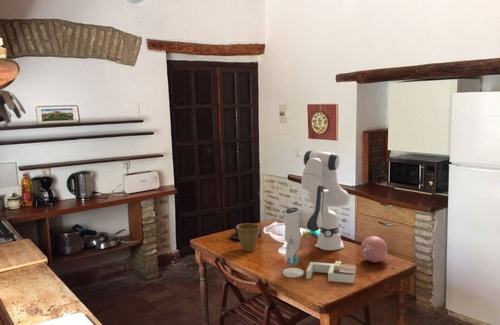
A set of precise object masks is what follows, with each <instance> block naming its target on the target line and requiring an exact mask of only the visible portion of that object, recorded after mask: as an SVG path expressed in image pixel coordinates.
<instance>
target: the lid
mask: <svg viewBox="0 0 500 325" xmlns="http://www.w3.org/2000/svg"><path fill="white" fill-rule="evenodd" d="M333 264H334V271H333V273H341V274H353V275H354V274H355V275H356V273H355V269H356V270H357V266H354V265H353V264H343V265H342V261H341V260H335V262H334V263H333Z"/></svg>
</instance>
